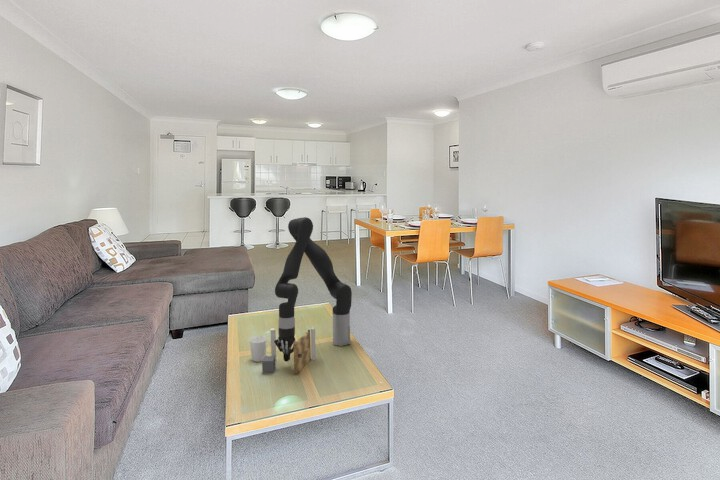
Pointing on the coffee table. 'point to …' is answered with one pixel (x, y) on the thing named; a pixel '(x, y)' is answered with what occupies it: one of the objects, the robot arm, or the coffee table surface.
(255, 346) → the white cup
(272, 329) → the door frame
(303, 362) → the door
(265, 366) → the grey cube-like block
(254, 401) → the coffee table surface
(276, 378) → the coffee table surface
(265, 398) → the coffee table surface
